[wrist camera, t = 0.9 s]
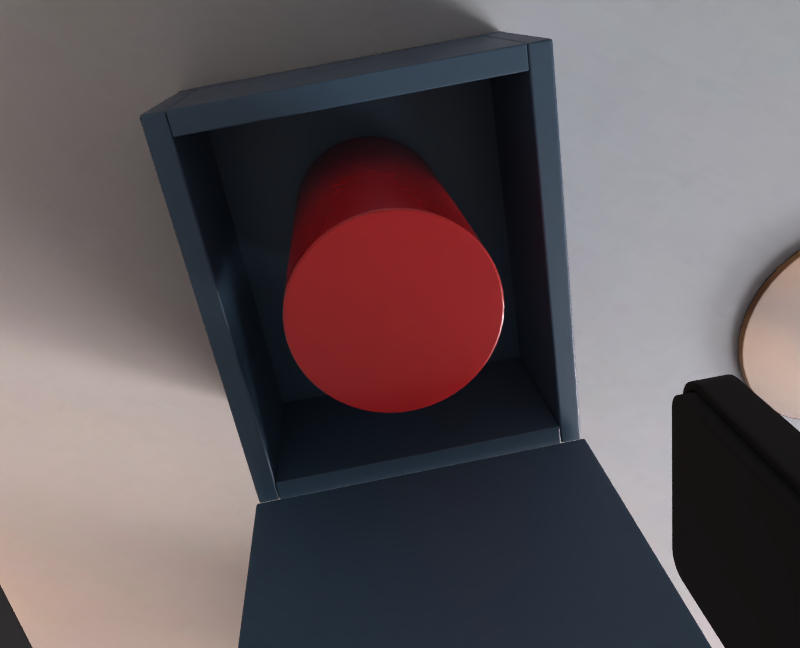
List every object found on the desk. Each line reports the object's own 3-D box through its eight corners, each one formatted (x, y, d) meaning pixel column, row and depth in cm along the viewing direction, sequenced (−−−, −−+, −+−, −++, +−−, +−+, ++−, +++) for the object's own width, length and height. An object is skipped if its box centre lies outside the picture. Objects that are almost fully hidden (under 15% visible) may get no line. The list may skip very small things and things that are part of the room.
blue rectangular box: (179, 90, 27) (137, 115, 21) (501, 30, 28) (553, 38, 21) (271, 412, 33) (259, 503, 27) (533, 360, 34) (581, 439, 28)
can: (306, 123, 28) (297, 190, 18) (456, 149, 29) (529, 227, 19) (287, 269, 30) (270, 402, 20) (427, 288, 31) (477, 423, 21)
